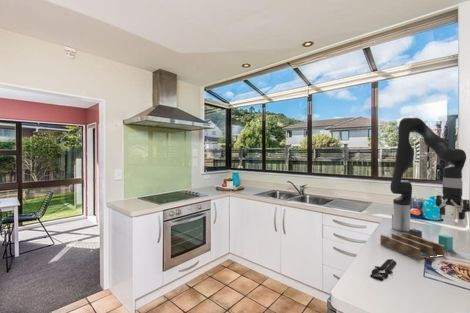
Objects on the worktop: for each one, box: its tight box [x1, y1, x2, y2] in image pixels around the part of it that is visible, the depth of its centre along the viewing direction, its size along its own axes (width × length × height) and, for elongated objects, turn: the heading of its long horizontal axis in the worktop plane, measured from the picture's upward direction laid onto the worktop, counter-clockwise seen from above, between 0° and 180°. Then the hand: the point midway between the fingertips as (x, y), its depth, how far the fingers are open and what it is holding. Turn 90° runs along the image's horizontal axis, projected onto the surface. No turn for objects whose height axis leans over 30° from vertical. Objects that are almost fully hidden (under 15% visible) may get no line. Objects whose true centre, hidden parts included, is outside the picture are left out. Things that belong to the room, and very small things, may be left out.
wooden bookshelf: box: [379, 232, 446, 261], centre depth 117 cm, size 20×18×5 cm
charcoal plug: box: [408, 228, 423, 238], centre depth 127 cm, size 4×4×7 cm
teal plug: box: [437, 234, 454, 252], centre depth 118 cm, size 4×4×7 cm
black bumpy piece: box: [370, 258, 397, 282], centre depth 96 cm, size 25×6×1 cm, turn 126°
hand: (451, 217), depth 117 cm, fingers open, 8 cm apart
